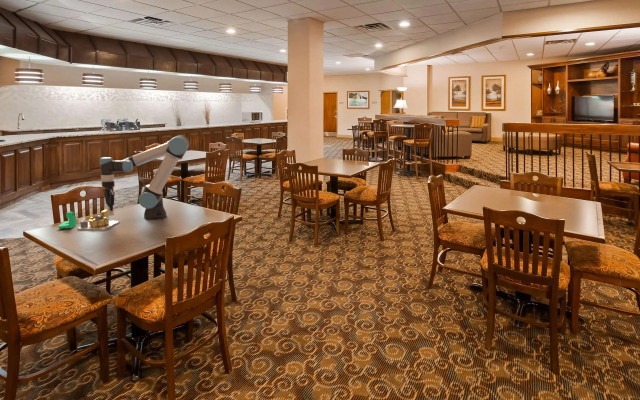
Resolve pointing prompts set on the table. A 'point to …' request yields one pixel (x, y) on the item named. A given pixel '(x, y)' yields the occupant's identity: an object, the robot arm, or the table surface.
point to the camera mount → (71, 221)
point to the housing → (86, 226)
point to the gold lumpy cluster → (100, 222)
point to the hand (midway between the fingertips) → (111, 215)
